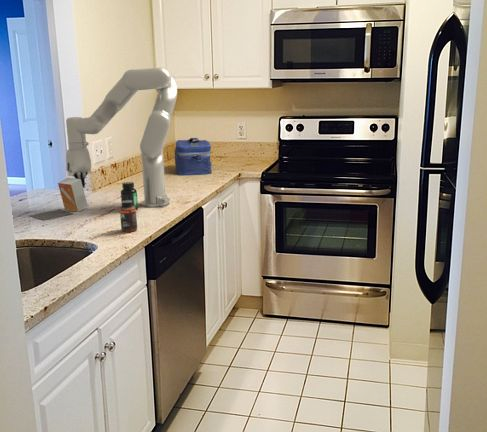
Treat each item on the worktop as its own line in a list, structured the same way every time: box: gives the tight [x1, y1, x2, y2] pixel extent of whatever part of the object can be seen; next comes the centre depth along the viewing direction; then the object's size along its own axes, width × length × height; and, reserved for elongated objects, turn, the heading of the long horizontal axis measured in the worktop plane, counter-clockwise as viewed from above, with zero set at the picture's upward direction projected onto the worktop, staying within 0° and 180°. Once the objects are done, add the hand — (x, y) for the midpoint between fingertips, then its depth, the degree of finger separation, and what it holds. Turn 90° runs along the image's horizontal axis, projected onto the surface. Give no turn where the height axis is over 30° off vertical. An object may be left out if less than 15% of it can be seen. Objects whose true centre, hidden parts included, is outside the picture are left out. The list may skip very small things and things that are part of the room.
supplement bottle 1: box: [120, 181, 139, 211], centre depth 242 cm, size 7×7×12 cm
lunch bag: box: [174, 137, 213, 177], centre depth 333 cm, size 31×21×20 cm
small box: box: [57, 177, 89, 213], centre depth 244 cm, size 8×6×13 cm
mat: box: [28, 208, 75, 221], centre depth 238 cm, size 12×14×1 cm
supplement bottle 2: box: [119, 200, 138, 233], centre depth 210 cm, size 6×6×11 cm
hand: (81, 187), depth 247 cm, fingers closed
